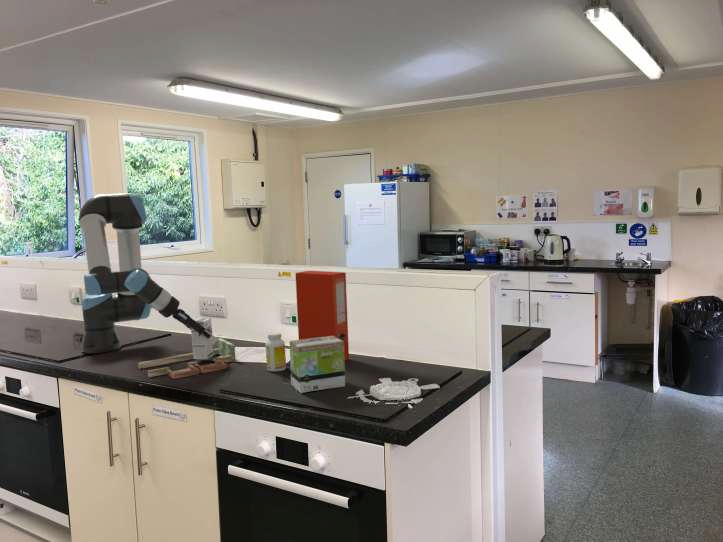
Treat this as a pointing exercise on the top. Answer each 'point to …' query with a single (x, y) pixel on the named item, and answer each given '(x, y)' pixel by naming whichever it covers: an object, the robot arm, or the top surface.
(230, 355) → the channel
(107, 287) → the robot arm
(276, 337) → the supplement bottle
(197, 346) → the syrup box
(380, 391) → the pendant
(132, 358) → the top surface
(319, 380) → the tea box
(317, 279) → the file binder
